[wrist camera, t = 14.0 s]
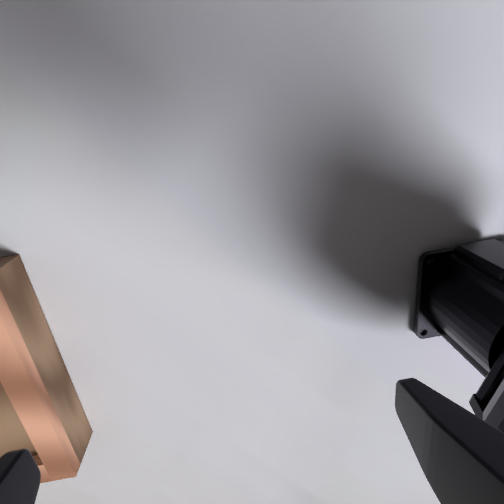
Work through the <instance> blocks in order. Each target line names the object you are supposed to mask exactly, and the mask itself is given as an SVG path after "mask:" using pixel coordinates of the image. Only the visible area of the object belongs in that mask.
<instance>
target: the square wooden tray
mask: <svg viewBox="0 0 504 504" xmlns="http://www.w3.org/2000/svg"><path fill="white" fill-rule="evenodd" d="M91 435H92V429H91V427H90V424H89V422H88V419H87V417H86V415H85V412H84V410H83V407H82V405H81V403H80V400H79V398H78V395H77V393H76V391H75V388H74V386H73V383H72V381H71V378H70V376H69V374H68V371H67V369H66V366H65V364H64V362H63V359H62V357H61V354H60V352H59V349H58V347H57V345H56V342H55V340H54V337H53V335H52V333H51V330H50V328H49V325H48V323H47V321H46V318H45V316H44V313H43V311H42V308H41V306H40V304H39V301H38V299H37V296H36V294H35V292H34V289H33V287H32V284H31V282H30V280H29V277H28V275H27V272H26V270H25V267H24V265H23V263H22V260H21V258H20V255H12V256H5V257H0V458H1V457H2V456H3V455H4V454H5V453H7V452H9V451H12V450H18V449H23V448H25V449H28V450H29V451H30V452H31V454H32V456H33V458H34V460H35V462H36V464H37V466H38V467H39V469H40V473H41V480H40V483H44V482H49V481H54V480H60V479H65V478H71V477H76V475H77V472H78V470H79V467H80V464H81V462H82V459H83V456H84V454H85V451H86V448H87V446H88V443H89V440H90V438H91Z"/></svg>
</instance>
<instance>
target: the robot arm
mask: <svg viewBox="0 0 504 504" xmlns="http://www.w3.org/2000/svg"><path fill="white" fill-rule="evenodd" d="M429 258H431V259H430V261H429V262H427V260H428V259H429ZM422 330H424V331H423V332H421V331H422ZM414 333H415V334H416V335H417V336H418V337H419V338H421V339H424V338H430V337H435V336H441V335H442V336H443V337H444V338H445V339H446V340H447V341H448V342H449V343H450V344H451V345H452V346H453V347H454V348H455V349H456V350H457V351H458V352H459V353H460V354H461V355H462V356H463V357H464V358H466V359H467V360H468V361H469V362H470V363H471V364H472V365H473V366H474V367H475V368H476V369H477V370H478V371H479V372H480V373H481V374H482V375H483V376H484V377H485V379H484V381H483V383H482V385H481V386H480V388H479V390H478V391H477V393H476V394H473V396H472V397H471V399H470V401H469V403H470V405H471V407H472V409H473V411H474V413H475V415H474V414H472V413H471V412H469V411H467V410H466V409H464V408H463V407H461V406H459V405H458V404H456V403H454V402H453V401H451V400H449V399H448V398H446V397H444V396H443V395H441V394H440V393H438V392H436V391H435V390H433V389H431V388H430V387H428V386H426V385H425V384H423V383H422V382H420V381H418V380H417V379H414V378H408V379H402V380H399V381H397V383H396V395H395V408H396V412H397V415H398V417H399V419H400V421H401V424H402V426H403V428H404V430H405V432H406V435H407V437H408V439H409V441H410V443H411V446H412V448H413V450H414V452H415V454H416V457H417V459H418V461H419V463H420V465H421V468H422V470H423V472H424V474H425V476H426V478H427V480H428V482H429V484H430V485H431V487H432V489H433V491H434V493H435V494H436V496H437V498H438V499H439V501H440V503H441V504H504V240H499V241H498V240H495V239H490V240H483V241H477V242H471V243H464V244H459V245H457V246H455V247H454V248H448V249H442V250H435V251H429V252H425V253H423V254H422V255H421V257H420V260H419V272H418V285H417V298H416V311H415V324H414ZM40 480H41V473H40V469H39V467H38V466H37V464H36V462H35V460H34V458H33V456H32V454H31V452H30V451H29V450H28V449H25V448H23V449H18V450H12V451H9V452H7V453H5V454H4V455H3V456H2V457H1V458H0V504H35V500H36V496H37V492H38V489H39V485H40Z"/></svg>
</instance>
